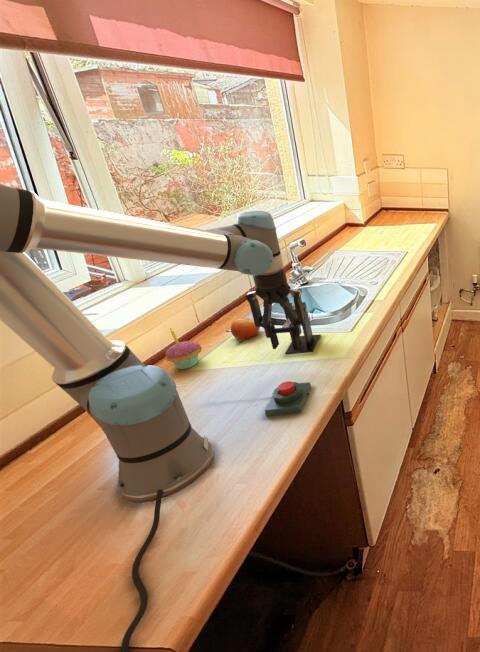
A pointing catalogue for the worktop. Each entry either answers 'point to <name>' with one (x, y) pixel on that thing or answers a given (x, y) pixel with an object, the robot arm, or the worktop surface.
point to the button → (286, 388)
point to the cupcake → (183, 353)
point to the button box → (288, 401)
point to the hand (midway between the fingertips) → (286, 345)
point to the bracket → (304, 337)
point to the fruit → (244, 329)
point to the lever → (286, 326)
